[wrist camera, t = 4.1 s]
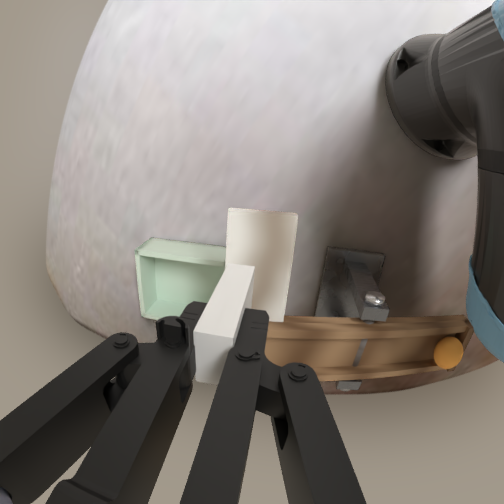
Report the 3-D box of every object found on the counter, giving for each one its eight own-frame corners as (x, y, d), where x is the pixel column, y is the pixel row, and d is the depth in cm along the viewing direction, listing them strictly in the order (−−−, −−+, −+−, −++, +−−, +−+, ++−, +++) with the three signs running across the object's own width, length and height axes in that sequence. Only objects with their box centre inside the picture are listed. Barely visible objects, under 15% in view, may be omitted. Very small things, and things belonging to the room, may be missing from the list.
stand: (310, 333, 38) (312, 394, 27) (327, 246, 33) (341, 292, 23) (359, 337, 37) (374, 397, 26) (383, 253, 32) (416, 299, 22)
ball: (427, 340, 25) (441, 361, 22) (453, 324, 25) (469, 343, 21) (429, 360, 26) (442, 380, 23) (454, 345, 26) (468, 364, 22)
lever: (222, 364, 27) (220, 384, 24) (229, 207, 22) (226, 216, 19) (442, 358, 28) (452, 373, 25) (488, 238, 22) (505, 247, 20)
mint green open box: (155, 299, 39) (141, 316, 35) (151, 237, 36) (134, 249, 32) (233, 313, 38) (226, 333, 34) (237, 248, 35) (229, 262, 31)
